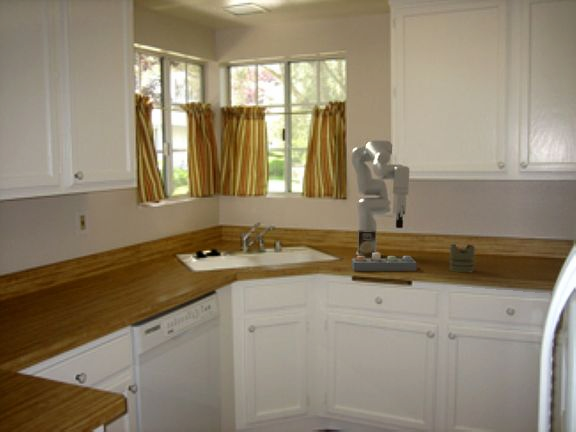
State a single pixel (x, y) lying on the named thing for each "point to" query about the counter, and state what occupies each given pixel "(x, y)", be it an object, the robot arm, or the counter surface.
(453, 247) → the olive tactical vest
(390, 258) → the sage button
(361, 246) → the coffee box
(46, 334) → the counter surface
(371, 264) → the console
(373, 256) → the cream button
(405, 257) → the slate button
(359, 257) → the terracotta button
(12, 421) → the counter surface
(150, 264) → the counter surface
